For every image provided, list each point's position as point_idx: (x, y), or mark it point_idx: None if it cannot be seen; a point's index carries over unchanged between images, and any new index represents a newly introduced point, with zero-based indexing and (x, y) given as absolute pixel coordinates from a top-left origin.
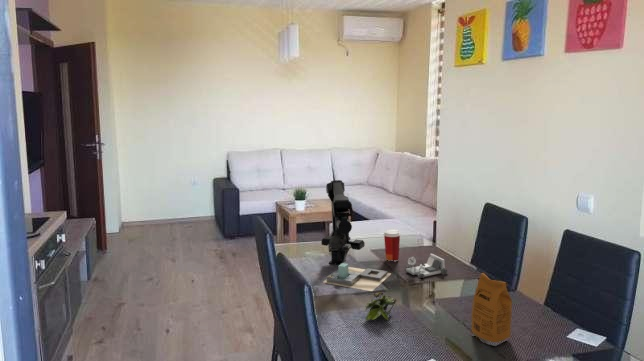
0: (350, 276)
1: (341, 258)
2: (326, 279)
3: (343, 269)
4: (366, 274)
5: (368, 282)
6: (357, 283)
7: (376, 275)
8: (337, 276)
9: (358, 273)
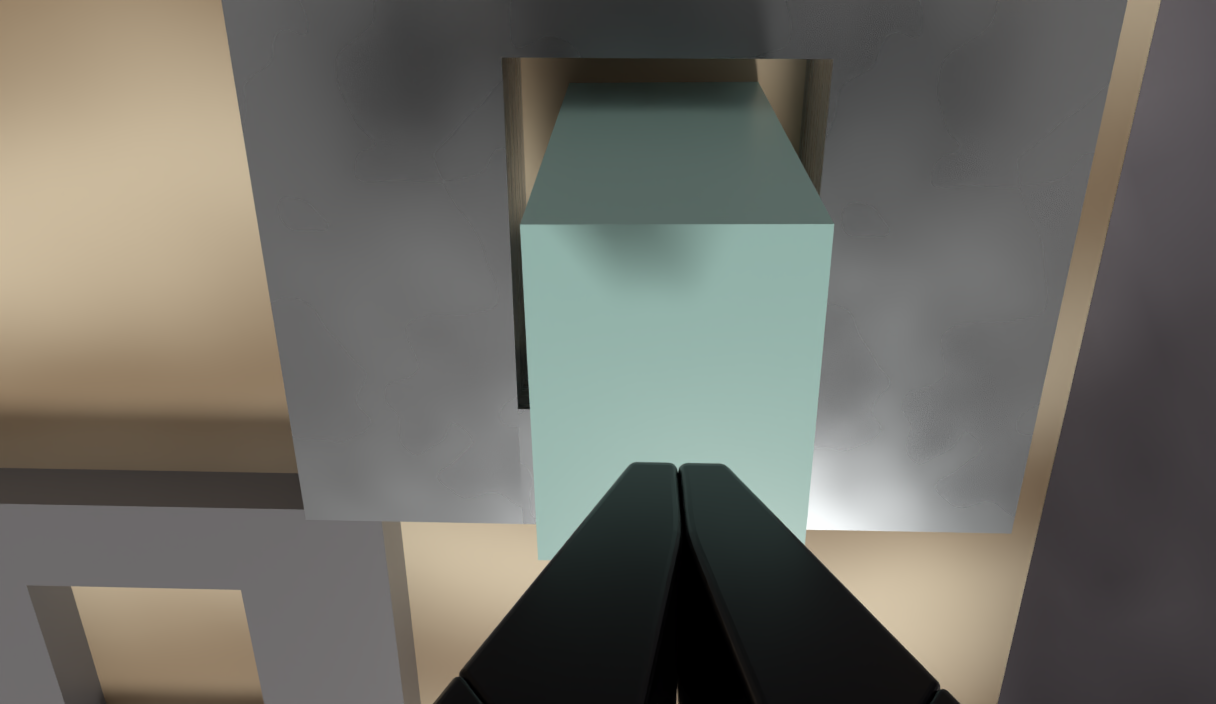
0: (431, 234)
1: (748, 534)
2: (1140, 38)
3: (577, 182)
4: (241, 577)
5: (28, 284)
6: (218, 122)
7: (16, 600)
8: (822, 130)
9: (350, 492)
